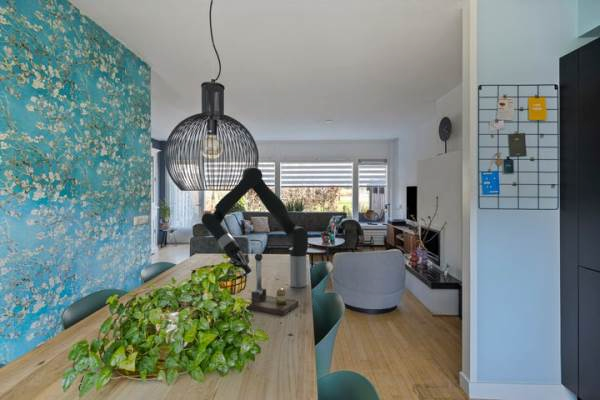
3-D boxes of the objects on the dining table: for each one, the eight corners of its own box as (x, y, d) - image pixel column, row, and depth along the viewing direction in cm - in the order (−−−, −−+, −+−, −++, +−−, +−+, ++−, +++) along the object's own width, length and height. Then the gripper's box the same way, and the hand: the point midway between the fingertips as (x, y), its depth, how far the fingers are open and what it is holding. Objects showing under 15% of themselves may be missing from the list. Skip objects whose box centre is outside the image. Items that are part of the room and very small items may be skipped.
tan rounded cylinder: (279, 301, 143) (279, 286, 143) (287, 302, 141) (287, 287, 141) (274, 304, 139) (274, 288, 139) (283, 306, 137) (282, 290, 137)
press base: (258, 298, 154) (258, 285, 154) (298, 305, 144) (298, 290, 144) (241, 307, 141) (241, 293, 141) (283, 315, 131) (282, 299, 131)
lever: (258, 294, 148) (257, 252, 147) (264, 295, 146) (264, 252, 146) (253, 296, 144) (253, 253, 144) (260, 297, 143) (259, 254, 143)
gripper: (223, 241, 146) (245, 270, 140) (241, 238, 158) (262, 264, 152) (215, 252, 148) (236, 280, 143) (233, 248, 160) (253, 274, 155)
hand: (249, 272), depth 148 cm, fingers closed
